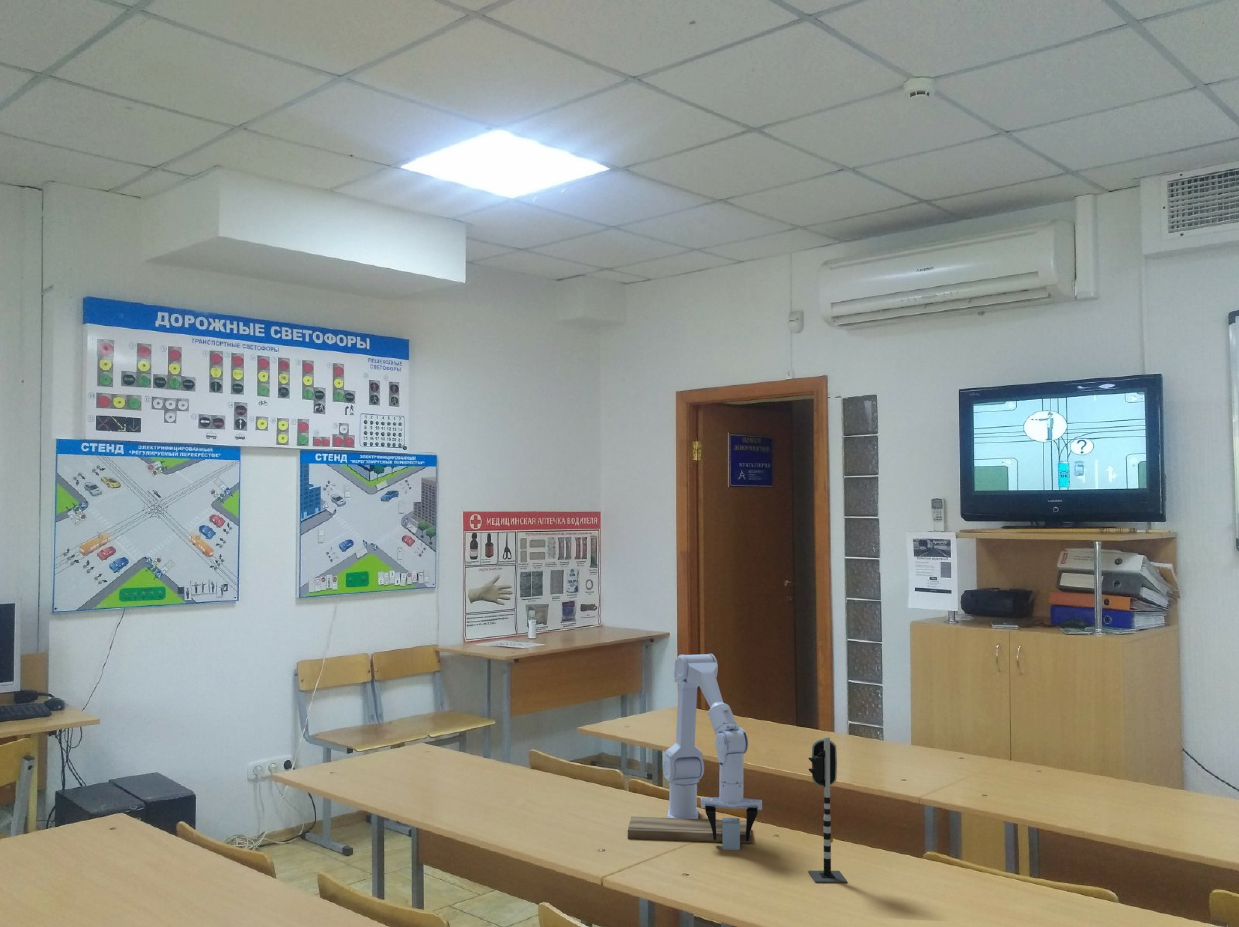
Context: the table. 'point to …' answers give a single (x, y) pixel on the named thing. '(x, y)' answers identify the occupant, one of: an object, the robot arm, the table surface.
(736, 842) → the light blue block
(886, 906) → the table surface
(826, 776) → the miniature traffic light
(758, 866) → the table surface
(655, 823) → the board
